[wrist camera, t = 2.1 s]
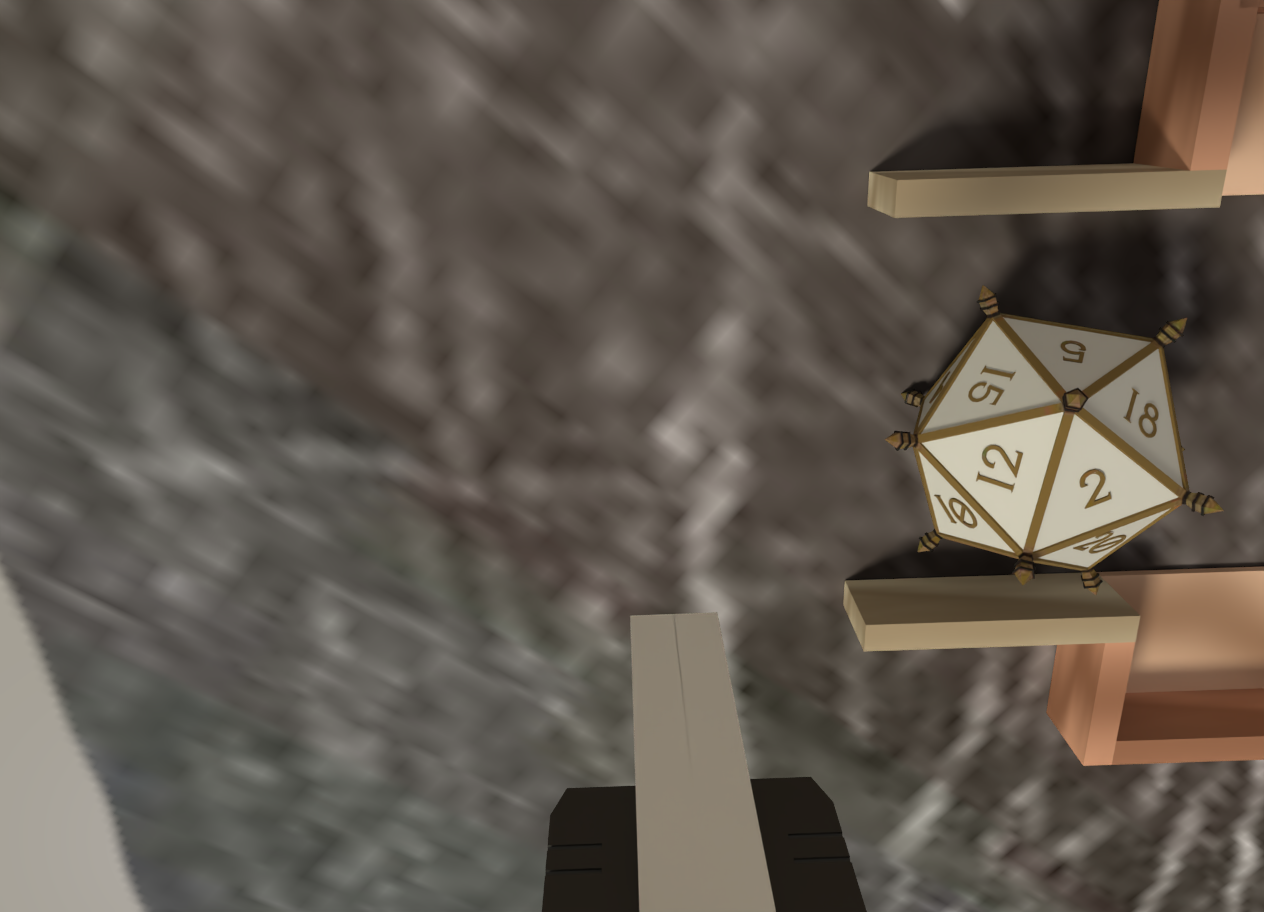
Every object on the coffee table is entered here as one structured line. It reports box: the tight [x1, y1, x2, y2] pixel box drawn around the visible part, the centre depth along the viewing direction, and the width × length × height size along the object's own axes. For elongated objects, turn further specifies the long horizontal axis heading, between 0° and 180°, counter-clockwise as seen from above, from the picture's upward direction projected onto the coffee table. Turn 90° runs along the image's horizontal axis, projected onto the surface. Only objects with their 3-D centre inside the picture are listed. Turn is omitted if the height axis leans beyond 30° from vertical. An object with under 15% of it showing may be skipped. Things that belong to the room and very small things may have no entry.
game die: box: [885, 285, 1224, 595], centre depth 27 cm, size 9×8×10 cm
